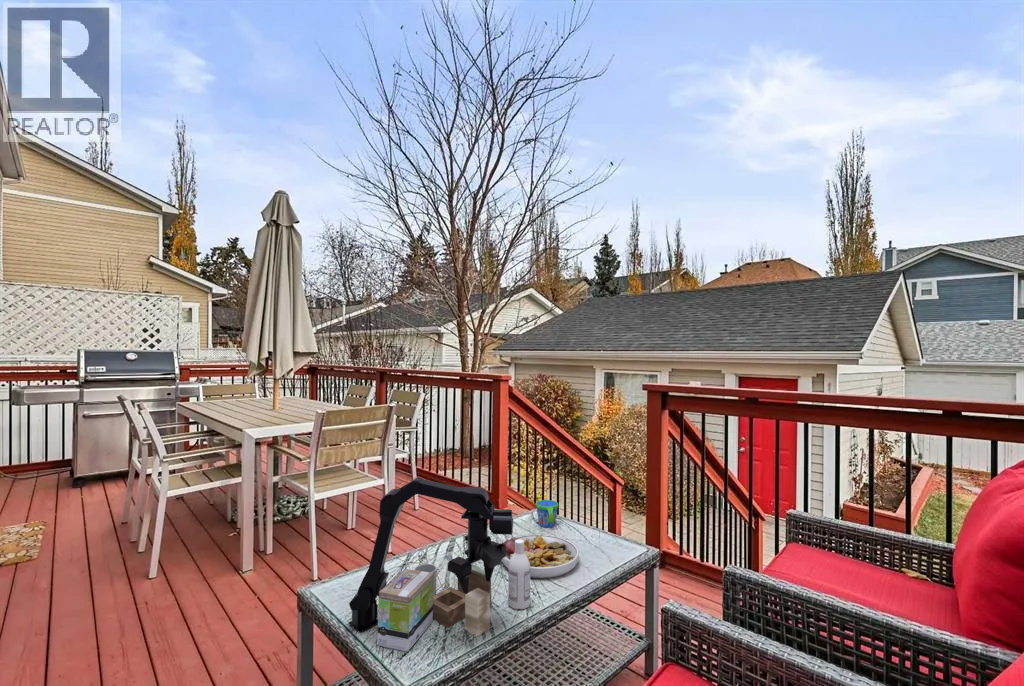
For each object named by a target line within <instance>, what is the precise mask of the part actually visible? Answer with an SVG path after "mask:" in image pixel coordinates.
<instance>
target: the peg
mask: <svg viewBox="0 0 1024 686" xmlns="http://www.w3.org/2000/svg"><path fill="white" fill-rule="evenodd" d="M490 608H491V607H490V593H487V592H485V591H483V590H481V589H479V588H476V589H475V590H473V591H471V592H469V593H468V594H465V618H464V630H465V631H467V632H469V633H470V634H473V636H476V637H479V636H480V635H482V634H483V633H485V632H486V631H488V630H490V628H491V627H490V624H491V623H490V620H491V619H490V618H491V617H490V614H491V613H490V610H491V609H490Z"/></svg>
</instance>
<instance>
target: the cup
mask: <svg viewBox="0 0 1024 686" xmlns="http://www.w3.org/2000/svg"><path fill="white" fill-rule="evenodd" d="M413 570H417V571H423V572H430V573H434V585H433V596H434V595H436V594H437V570H438V569H437V566H436V565H434V564H431V563H423V564H419V565H416V567H415V568H414V569H413Z"/></svg>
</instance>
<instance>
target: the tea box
mask: <svg viewBox="0 0 1024 686" xmlns="http://www.w3.org/2000/svg"><path fill="white" fill-rule="evenodd" d="M433 585H434V573H430V572H423V571H417V570H414V569H411V568H410V569H409V568H405V569H403V570H402V571H401V572H400V573H399V574H397V575H396V576H395V577H394V578H393V579H392V580H391V581H390V582H389V583H387V585H386V586H385V587H384V588H383V589H382V590H381V591H380V592H379V596H378V617H377V620H378V624H377V633H376V634H377V639H376V640H377V641H376V645H377V646H380V647H384V648H388V649H393V650H397V651H402V652H409V651H410V649H412V647H413V646H414V644H416V642H417V641H418V640H419V639H420V637H422V635H423V634H424V633H425V632H426V630H427V629H428V627H430V626H431V624H432V623H433V620H434V619H433Z"/></svg>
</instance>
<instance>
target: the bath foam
mask: <svg viewBox="0 0 1024 686" xmlns="http://www.w3.org/2000/svg"><path fill="white" fill-rule="evenodd" d="M507 596H508V599H507V600H508V606H509V607H510V608H512V609H514V610H518V609H521V610H525V609H527V608H528V607H530V604H531V577H530V563H529V560H528V558H527V556H526V555H525V553H524V541H523V540H521V539H518V540H515V553H514V554H513V556H512V557H511V559H510V562H509V569H508V595H507Z"/></svg>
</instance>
